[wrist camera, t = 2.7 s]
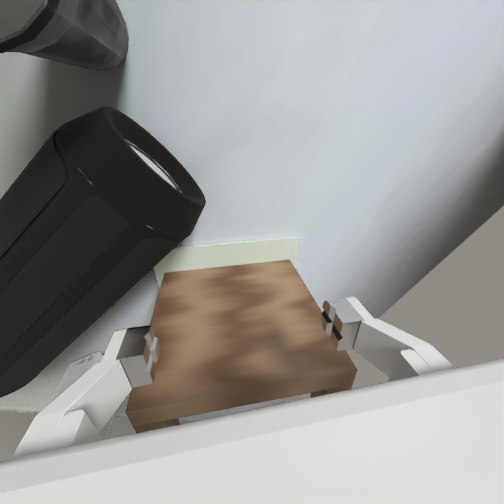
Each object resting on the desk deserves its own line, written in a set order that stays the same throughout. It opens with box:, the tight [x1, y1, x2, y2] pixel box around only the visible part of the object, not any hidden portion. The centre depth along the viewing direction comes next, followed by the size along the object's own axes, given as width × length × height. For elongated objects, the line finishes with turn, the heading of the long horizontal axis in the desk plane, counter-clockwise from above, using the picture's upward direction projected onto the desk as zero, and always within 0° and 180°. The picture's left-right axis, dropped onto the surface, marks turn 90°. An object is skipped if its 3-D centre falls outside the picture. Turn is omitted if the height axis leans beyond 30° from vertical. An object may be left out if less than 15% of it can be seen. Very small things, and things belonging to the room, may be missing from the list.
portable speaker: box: [0, 106, 206, 397], centre depth 18 cm, size 26×10×10 cm, turn 131°
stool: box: [126, 260, 357, 433], centre depth 22 cm, size 14×7×14 cm, turn 91°
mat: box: [153, 236, 300, 291], centre depth 31 cm, size 16×26×1 cm, turn 1°
